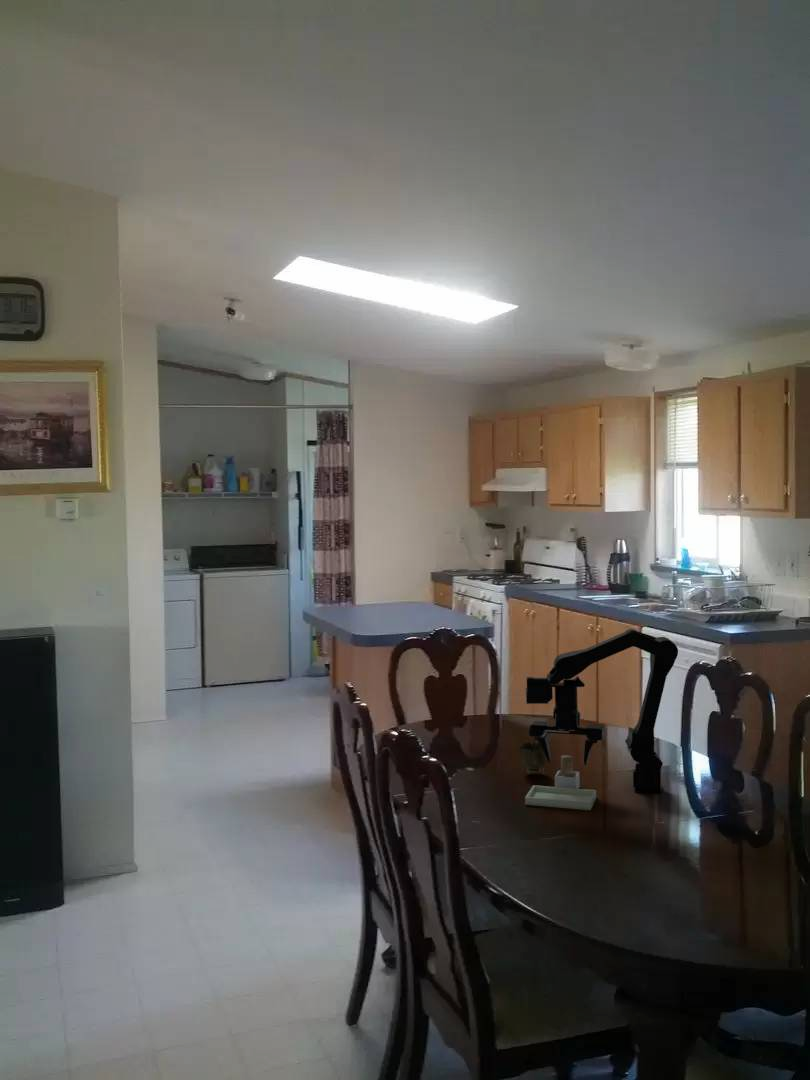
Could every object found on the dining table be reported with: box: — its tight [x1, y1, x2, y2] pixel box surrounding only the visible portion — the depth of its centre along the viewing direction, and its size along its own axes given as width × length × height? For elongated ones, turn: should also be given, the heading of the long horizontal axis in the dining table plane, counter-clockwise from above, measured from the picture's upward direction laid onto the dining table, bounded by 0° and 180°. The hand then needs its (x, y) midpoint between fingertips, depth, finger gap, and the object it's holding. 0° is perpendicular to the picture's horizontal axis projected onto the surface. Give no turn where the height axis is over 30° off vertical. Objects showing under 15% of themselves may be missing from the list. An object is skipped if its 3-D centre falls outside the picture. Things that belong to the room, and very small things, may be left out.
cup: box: [519, 741, 547, 776], centre depth 255 cm, size 8×7×8 cm
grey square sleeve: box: [554, 769, 581, 789], centre depth 241 cm, size 6×6×4 cm
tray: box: [524, 785, 597, 811], centre depth 232 cm, size 16×10×2 cm, turn 71°
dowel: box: [560, 754, 574, 777], centre depth 241 cm, size 3×3×8 cm
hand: (567, 763), depth 241 cm, fingers open, 9 cm apart
